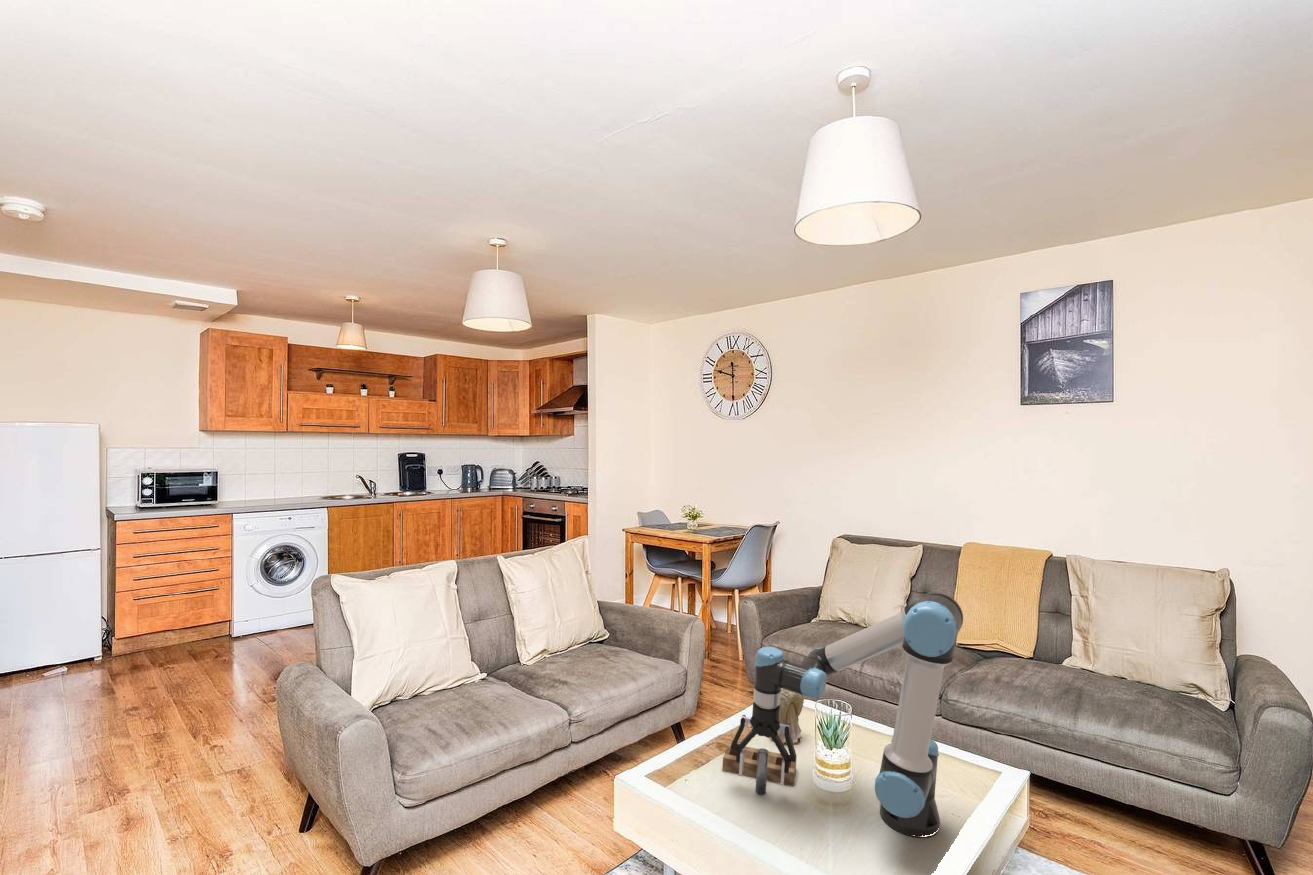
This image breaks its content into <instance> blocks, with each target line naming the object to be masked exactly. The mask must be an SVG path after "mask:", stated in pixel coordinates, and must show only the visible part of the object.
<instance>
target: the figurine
mask: <svg viewBox="0 0 1313 875" xmlns="http://www.w3.org/2000/svg"><path fill="white" fill-rule="evenodd" d="M804 701H805V698H804V695H802V694H799V693H796V692H793V691H790V690H786V689H783V688H781V696H780V705H779V706H780V711H779V722H780V724H784V725H786V724H787V723H788V724H790V735H791V738H792V742H793V745H794V746H798V745H801V744H802V742H801V739H802V738H803V737H802V735H801V732H802V729H801V727H800V725H799V719H800V718H799V717H800V715H801V713H802V711H803V708H804V703H805V702H804ZM777 732H778V735H779V737H780V739H781V741H782V743H783V745H784V746H785V747H787V743H786V740H785V735H784V733H783V732H782V730H781V729H779V730H778V731H777ZM769 739H770V741H771V742H773V743H775V742H774V741H773V740H772V738H771V737H769Z"/></svg>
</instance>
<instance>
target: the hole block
mask: <svg viewBox="0 0 1313 875" xmlns="http://www.w3.org/2000/svg"><path fill="white" fill-rule="evenodd" d="M731 744H732V742H731V743H730V742H728V744H727V747H726V749H725V752H724V754H723V757H722V768H721V770H722V771H724V772H728V773H733V774H737V775H739V767H740V763H738V762H737V761H736V756H737V751H736V750H735V749H731ZM744 749H745V750H744V766H743V773H742V775H743V776H746V777H751V778H755V779H756V773H757V758H758V749H759V748H755V747H750V746H747V745H746V746H745V747H744ZM768 751H769V750H768ZM782 760H783V757H782V755H781V753H780V752H779V753H778V752H774V751H771V750H770V751H769V754H768V769H767V781H769V782H773V783H778V784H781V769H782ZM796 771H797V756H796V761H795V762H790V763H789V772H788V773H785V776H784V784H783V785H786V786H791V787H793V786H794V782H795V777H796Z"/></svg>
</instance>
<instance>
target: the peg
mask: <svg viewBox="0 0 1313 875" xmlns="http://www.w3.org/2000/svg"><path fill="white" fill-rule="evenodd" d="M757 749H758V758H757V773H756V778H755V793H756V794H757V795H760V796H764V795H766V793H767V783H768V782H767V781H768V780H767V769H768V754H769V750H768V749H766V748H757Z"/></svg>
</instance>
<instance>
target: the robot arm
mask: <svg viewBox="0 0 1313 875" xmlns="http://www.w3.org/2000/svg"><path fill="white" fill-rule="evenodd" d="M963 623H964V614H963V610H962V607H961V606H960V604H959V602H957V600H956V599H955V598H953V597H952V596H950V595H948V594H946V593H943V592H929V593H926V594H925V595H923V596H922V597H919V598H918V599H916V600H914V601H913V602H911V603H909V604H907V605H905V606H904V607H903V609H902V611H901V612H899V613H896V614H895V615H892V616H890V617H888V618H885V619H884V620H881V621H879V622H877V623H875V624H872V625H869V626H868V627H866V628H863V629H860V630H859V631H857V632H854V633H852V634H850V635H848V636H845V637H844V638H841V639H838V640H836V641H834V642H832V643H831V644H827V645H826V646H824V647H817V648H815V649H812V650H811V651H810V652H809V654H807V655H806V657H804V658H803V659H802V660H801V661H800V662H798V663H797V662H793V661H790V660H786V659H784V658H785V657H784V653H783V650H781V649H779V648H777V647H772V646H764V647H761V648H760V649H758V650H757V652H756V658H755V663H754V666H755V668H754V684H753V695H752V696H753V700H752V701H753V703H752V713H751V714H752V716H751V717H747V716H746V715H745V714H742V715H741V718H740V721H739V723H740V725H739V727H738V729H737V730H736V733H735V735H734V738H733V740H732V742H731V743H732V744H731V749H735V750H736V751H737V756H736V761H737V762H738V763H740V767H739V774H738V776H739V777H742V773H743V766H744V750H745V749H744V747H745V746H746V747H747V745H748V744H749V743H750V742H751V741H752V740H753V738H754V737H756V735H758V736H759V737H765V738H767V739H768V738H769V739H770V737H771V738H772V740H773V741H774V742H773V741H772V742H773V743H774V744H775V746H776V748H777V750H778V752H779V754H781V755H782V757H783V760H782V769H781V783H779V785H780V786H784V785H785V784H784V776H785V773H788V772H789V763H790V762H795V761H796V762H797V759H796V757H797V752H796V749H795V747H794V746H795V745H793V742H792V738H791V735H790V724H788V723H787V724H786V725H784V724H780V722H779V711H780V706H779V705H780V696H781V688H783V689H786V690H790V691H793V692H796V693H799V694H802V695H803V697H804V696H805V697H809V698H814V699H820V698H821V697H822V696H823V695H824V692H825V690H826V686H827V677H829V676H831V675H834V674H836V673H838V672H840V671H843V670H846V669H847V668H850V667H852V666H854V665H857V664H859V663H861V662H864V661H866V660H869V659H872V658H873V657H877V656H878V655H881V654H883V653H886V652H888V651H890V650H893V649H895V648H898V647H900V646H902V648H901V649H902V651H903V653H904V654H905V655H906V661H905V667H904V674H903V678H902V683H901V684H902V685H901V690H900V694H899V695H900V696H899V700H898V701H899V702H898V707H897V710H896V711H897V713H896V718H895V721H894V722H895V724H894V729H893V735H892V738H891V741H890V742H891V743H888V744H886V745H885V746H884V749H883V753H882V758H881V764H880V770H879V773H878V774H877V776H876V777H875V781H874V794H875V796H876V798H877V800H878V801H879V803H880V806H879V807H880V808H879V815H880V818H881V819H882V820H883V821H884V823H885V824H886V825H888V826H889V827H890V828H891V829H893V830H894V831H897V832H899V833H901V834H904V835H906V834H908V835H907V836H909V835H915V836H922V835H923V836H925V835H930V834H933V833H934V832H936V831H937V830H938V828H939V829H940V827H939V826H940V825H941V819H940V814H939V810H938V806H937V803H936V802H937V801H936V798H935V797H936V784H937V783H936V782H937V772H938V761H939V760H938V758H939V756H940V754H939V746H938V744H937V742H936V741H935V740H933V739H932V734H933V729H934V723H935V718H936V713H937V708H938V702H939V696H940V692H941V687H942V681H943V676H944V675H943V674H944V669H945V667H947V666H949V665H950V664H952V663H953V661H954V660H953V659H954V654H955V648H956V646H957V645H956V644H957V639H958V634H959V632H961V629H962V627H963ZM749 723H750V726H751V727H752V728H751V730H750V731H749V733H748V734H746V736H745V737H744V738H743V739H742V741H740V742H739V740H740V738H741V735H742V733H743V731H744V729H745V726H748V724H749ZM779 729H781V730H782V732H783V733H784V735H785V740H786V742H785V743H787V746H784V745H783V743H782V741H781V736H780V737H779V735H778V732H777V731H778V730H779ZM738 742H739V743H738ZM786 747H787V749H786ZM787 750H788V751H787Z"/></svg>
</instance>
